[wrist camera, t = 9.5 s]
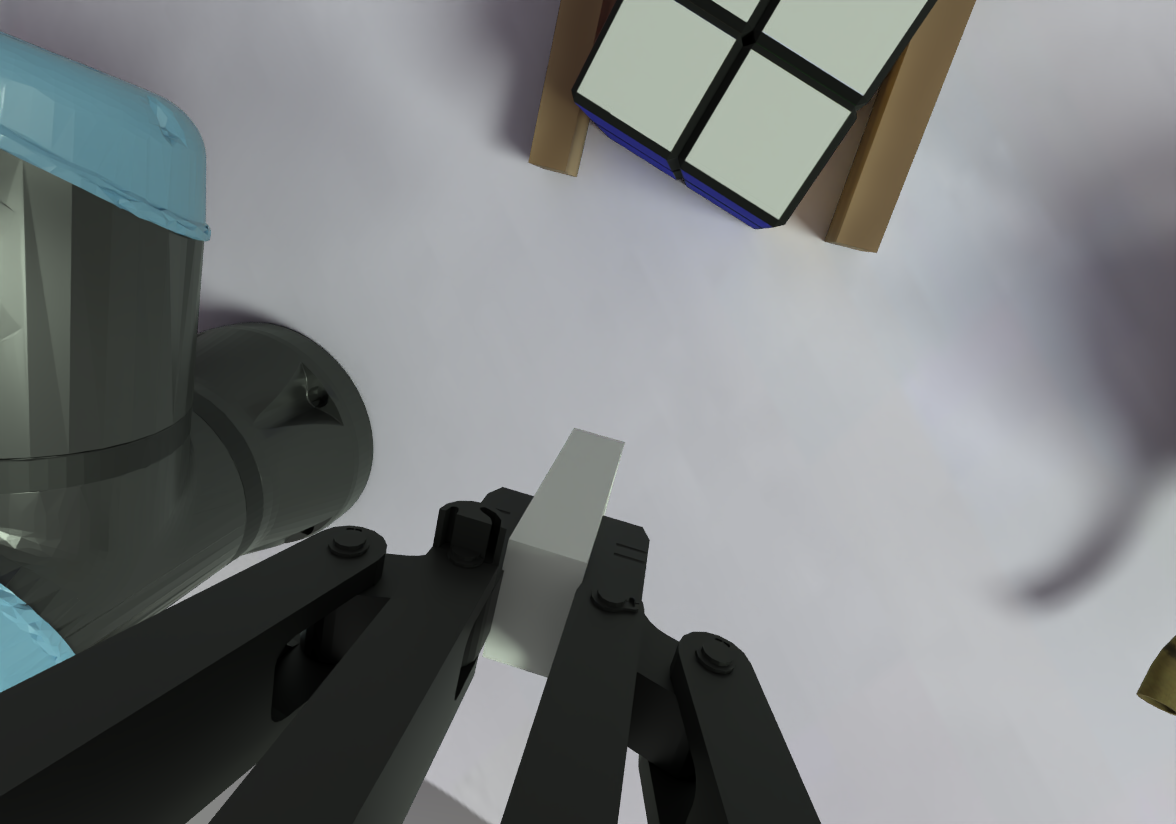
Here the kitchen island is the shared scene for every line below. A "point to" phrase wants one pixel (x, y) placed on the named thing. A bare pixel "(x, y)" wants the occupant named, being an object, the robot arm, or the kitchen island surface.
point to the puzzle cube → (741, 89)
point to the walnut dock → (877, 157)
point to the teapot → (1161, 680)
